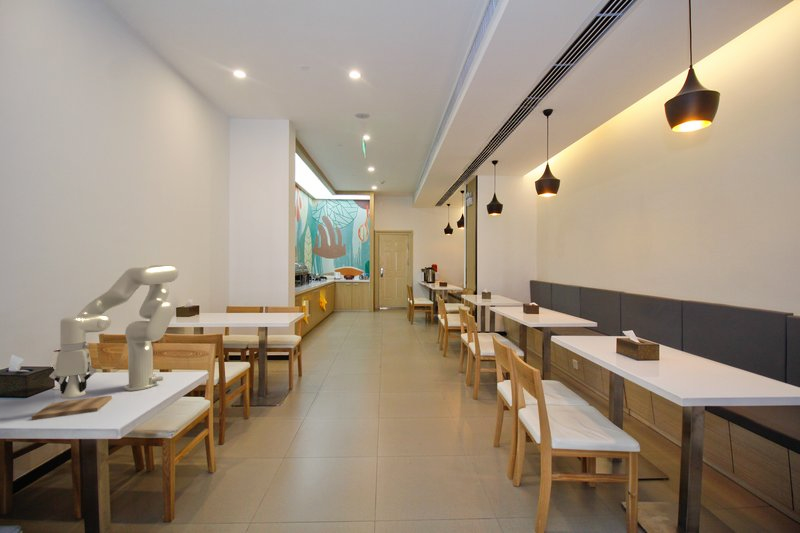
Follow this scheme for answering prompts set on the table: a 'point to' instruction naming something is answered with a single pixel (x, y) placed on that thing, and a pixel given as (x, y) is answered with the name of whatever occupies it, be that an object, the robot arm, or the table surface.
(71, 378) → the flask
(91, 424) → the table surface
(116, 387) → the table surface
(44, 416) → the walnut board
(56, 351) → the wineglass
